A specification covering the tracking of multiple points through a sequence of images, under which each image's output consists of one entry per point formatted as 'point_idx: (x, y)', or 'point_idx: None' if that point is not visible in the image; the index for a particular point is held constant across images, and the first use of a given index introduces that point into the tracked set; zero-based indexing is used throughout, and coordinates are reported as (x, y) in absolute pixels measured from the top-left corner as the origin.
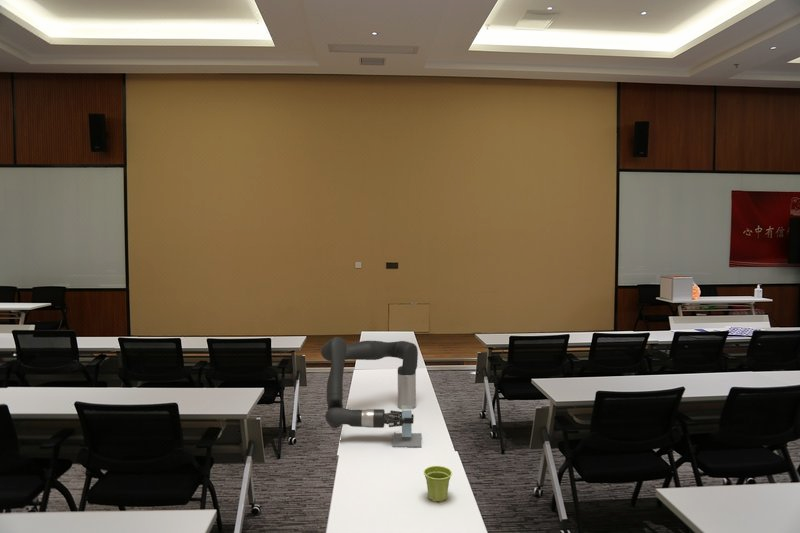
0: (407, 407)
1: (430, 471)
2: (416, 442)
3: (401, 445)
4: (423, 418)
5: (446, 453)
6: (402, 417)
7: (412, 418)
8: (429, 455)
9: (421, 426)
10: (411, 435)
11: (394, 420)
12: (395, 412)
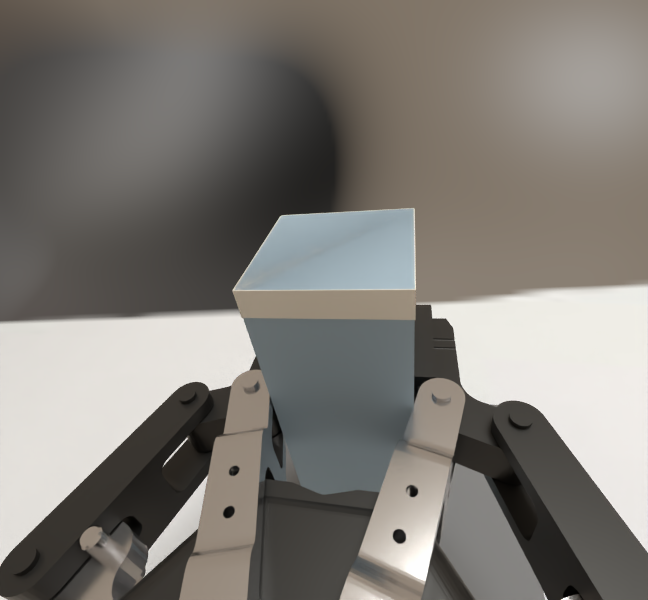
0: (350, 238)
1: None
2: None
3: (520, 576)
4: (41, 370)
5: (551, 306)
6: (412, 398)
7: (428, 306)
8: (621, 377)
9: (144, 387)
10: (290, 456)
11: (615, 557)
12: (125, 495)
